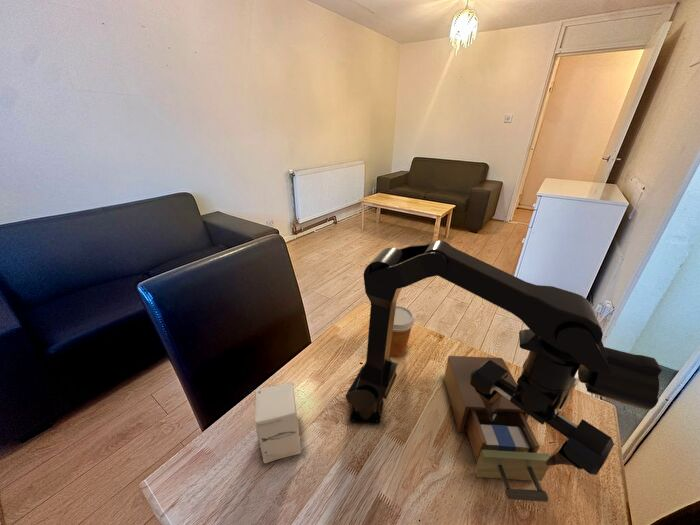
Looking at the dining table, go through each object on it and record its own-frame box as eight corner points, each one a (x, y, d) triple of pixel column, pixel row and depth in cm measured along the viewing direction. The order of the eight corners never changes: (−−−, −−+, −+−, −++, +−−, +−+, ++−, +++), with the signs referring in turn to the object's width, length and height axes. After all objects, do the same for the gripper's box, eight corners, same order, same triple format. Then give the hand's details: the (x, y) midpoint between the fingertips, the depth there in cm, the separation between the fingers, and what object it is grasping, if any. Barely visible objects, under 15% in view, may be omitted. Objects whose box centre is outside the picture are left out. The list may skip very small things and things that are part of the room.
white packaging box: (263, 465, 54) (252, 423, 48) (263, 428, 61) (254, 388, 55) (302, 454, 56) (296, 413, 50) (298, 420, 62) (292, 379, 57)
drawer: (557, 515, 47) (571, 495, 44) (486, 510, 47) (495, 490, 44) (510, 416, 62) (518, 396, 59) (457, 413, 63) (462, 393, 60)
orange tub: (415, 344, 83) (420, 311, 78) (403, 366, 76) (407, 330, 70) (386, 333, 88) (388, 300, 82) (371, 352, 80) (373, 318, 75)
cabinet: (520, 435, 59) (531, 410, 55) (458, 432, 60) (465, 406, 56) (494, 381, 71) (502, 357, 68) (443, 379, 72) (448, 355, 68)
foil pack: (515, 437, 57) (520, 426, 55) (525, 459, 53) (530, 447, 51) (474, 434, 57) (477, 423, 56) (481, 456, 54) (485, 444, 52)
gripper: (646, 390, 39) (601, 457, 46) (510, 321, 52) (492, 380, 59) (621, 438, 33) (574, 506, 40) (476, 346, 47) (460, 409, 54)
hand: (518, 439), depth 48 cm, fingers open, 9 cm apart
